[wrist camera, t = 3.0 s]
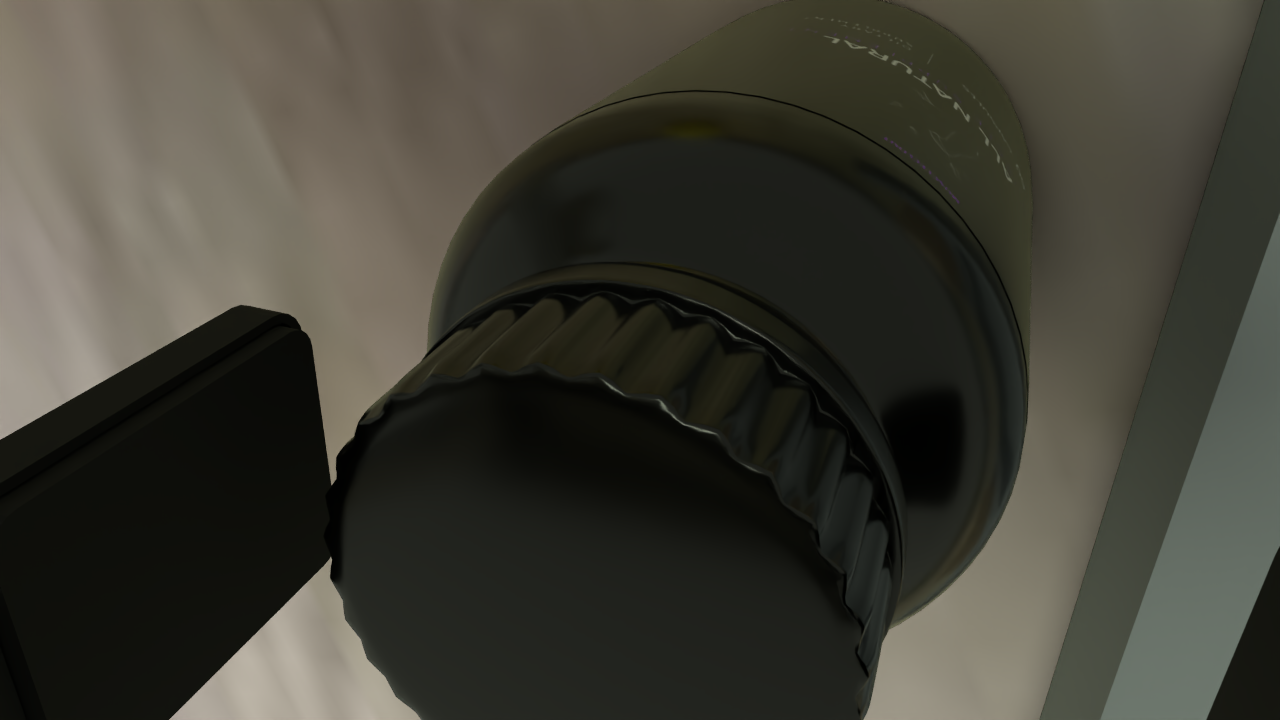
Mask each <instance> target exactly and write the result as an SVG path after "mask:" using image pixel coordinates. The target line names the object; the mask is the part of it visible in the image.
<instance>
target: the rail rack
mask: <svg viewBox="0 0 1280 720" xmlns="http://www.w3.org/2000/svg"><path fill="white" fill-rule="evenodd" d="M1279 547H1280V0H1265V1H1264V4H1263V7H1262V10H1261V13H1260V17H1259V20H1258V23H1257V26H1256V29H1255V33H1254V36H1253V39H1252V42H1251V45H1250V49H1249V52H1248V55H1247V58H1246V61H1245V65H1244V68H1243V71H1242V74H1241V77H1240V81H1239V84H1238V87H1237V90H1236V93H1235V97H1234V100H1233V103H1232V106H1231V109H1230V113H1229V116H1228V119H1227V122H1226V125H1225V129H1224V132H1223V135H1222V138H1221V141H1220V145H1219V148H1218V151H1217V154H1216V157H1215V161H1214V164H1213V167H1212V170H1211V173H1210V177H1209V180H1208V183H1207V186H1206V189H1205V193H1204V196H1203V199H1202V202H1201V205H1200V209H1199V212H1198V215H1197V218H1196V221H1195V225H1194V228H1193V231H1192V234H1191V237H1190V241H1189V244H1188V247H1187V250H1186V253H1185V257H1184V260H1183V263H1182V266H1181V269H1180V273H1179V276H1178V279H1177V282H1176V285H1175V289H1174V292H1173V295H1172V298H1171V301H1170V305H1169V308H1168V311H1167V314H1166V317H1165V321H1164V324H1163V327H1162V330H1161V333H1160V337H1159V340H1158V343H1157V346H1156V349H1155V353H1154V356H1153V359H1152V362H1151V365H1150V369H1149V372H1148V375H1147V378H1146V381H1145V385H1144V388H1143V391H1142V394H1141V398H1140V401H1139V404H1138V407H1137V410H1136V414H1135V417H1134V420H1133V423H1132V426H1131V430H1130V433H1129V436H1128V439H1127V442H1126V446H1125V449H1124V452H1123V455H1122V458H1121V462H1120V465H1119V468H1118V471H1117V474H1116V478H1115V481H1114V484H1113V487H1112V490H1111V494H1110V497H1109V500H1108V503H1107V506H1106V510H1105V513H1104V516H1103V519H1102V522H1101V526H1100V529H1099V532H1098V535H1097V538H1096V542H1095V545H1094V548H1093V551H1092V554H1091V558H1090V561H1089V564H1088V567H1087V570H1086V574H1085V577H1084V580H1083V583H1082V586H1081V590H1080V593H1079V596H1078V599H1077V602H1076V606H1075V609H1074V612H1073V615H1072V618H1071V622H1070V625H1069V628H1068V631H1067V634H1066V638H1065V641H1064V644H1063V647H1062V650H1061V654H1060V657H1059V660H1058V663H1057V666H1056V670H1055V673H1054V676H1053V679H1052V682H1051V686H1050V689H1049V692H1048V695H1047V698H1046V702H1045V705H1044V708H1043V711H1042V714H1041V718H1040V720H1206V719H1207V717H1208V714H1209V712H1210V710H1211V707H1212V705H1213V702H1214V700H1215V698H1216V695H1217V693H1218V690H1219V688H1220V686H1221V683H1222V681H1223V678H1224V676H1225V674H1226V671H1227V669H1228V667H1229V664H1230V662H1231V659H1232V657H1233V655H1234V652H1235V650H1236V647H1237V645H1238V643H1239V640H1240V638H1241V635H1242V633H1243V631H1244V628H1245V626H1246V623H1247V621H1248V619H1249V616H1250V614H1251V611H1252V609H1253V607H1254V604H1255V602H1256V599H1257V597H1258V595H1259V592H1260V590H1261V588H1262V585H1263V583H1264V580H1265V578H1266V576H1267V573H1268V571H1269V568H1270V566H1271V564H1272V561H1273V559H1274V556H1275V554H1276V552H1277V550H1278V549H1279Z"/></svg>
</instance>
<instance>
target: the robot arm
mask: <svg viewBox="0 0 1280 720" xmlns="http://www.w3.org/2000/svg"><path fill="white" fill-rule="evenodd" d="M330 487H331V480H330V473H329V465H328V458H327V451H326V444H325V436H324V429H323V422H322V415H321V407H320V400H319V393H318V386H317V378H316V371H315V364H314V357H313V349H312V344H311V341H310V338H309V337H308V335H307V334H306V333H305V332H303V331H302V330H301V326H300V325H299V323H298V322H297V320H296V319H295V318H294V317H292V316H291V315H289V314H285V313H280V312H275V311H271V310H266V309H261V308H256V307H251V306H244V305H239V306H236V307H234V308H231V309H229V310H228V311H226V312H224V313H222V314H221V315H219V316H217V317H215V318H214V319H212V320H210V321H208V322H207V323H205V324H203V325H201V326H200V327H198V328H196V329H194V330H193V331H191V332H189V333H187V334H186V335H184V336H182V337H180V338H179V339H177V340H175V341H173V342H171V343H170V344H168V345H166V346H164V347H163V348H161V349H159V350H157V351H156V352H154V353H152V354H150V355H149V356H147V357H145V358H143V359H142V360H140V361H138V362H136V363H135V364H133V365H131V366H129V367H128V368H126V369H124V370H122V371H121V372H119V373H117V374H115V375H114V376H112V377H110V378H108V379H107V380H105V381H103V382H101V383H99V384H98V385H96V386H94V387H92V388H91V389H89V390H87V391H85V392H84V393H82V394H80V395H78V396H77V397H75V398H73V399H71V400H70V401H68V402H66V403H64V404H63V405H61V406H59V407H57V408H56V409H54V410H52V411H50V412H49V413H47V414H45V415H43V416H42V417H40V418H38V419H36V420H35V421H33V422H31V423H29V424H27V425H26V426H24V427H22V428H20V429H19V430H17V431H15V432H13V433H12V434H10V435H8V436H6V437H5V438H3V439H1V440H0V720H169V719H170V718H171V717H172V716H173V715H174V714H175V713H176V712H177V711H178V710H179V709H180V708H181V707H182V706H183V705H184V704H185V703H186V702H187V701H188V700H189V699H190V698H191V697H192V696H193V695H194V694H195V693H196V692H197V691H198V690H199V689H200V688H201V687H202V686H203V685H204V684H205V683H206V682H207V681H208V680H209V679H210V678H211V677H212V676H213V675H214V674H215V673H216V672H217V671H218V670H219V669H220V668H221V667H222V666H223V665H224V664H225V663H226V662H227V661H228V660H229V659H230V658H231V657H232V656H233V655H234V654H235V653H236V652H237V651H238V650H239V649H240V648H241V647H242V646H243V645H244V644H245V643H246V642H247V641H249V640H250V639H251V638H252V637H253V636H254V635H255V634H256V633H257V632H258V631H259V630H260V629H261V628H262V627H263V626H264V625H265V624H266V623H267V622H268V621H269V620H270V619H271V618H272V617H273V616H274V615H275V614H276V613H277V612H278V611H279V610H280V609H281V608H282V607H283V606H284V605H285V604H286V603H287V602H288V601H289V600H290V599H291V598H292V597H293V596H294V595H295V594H296V593H297V592H298V591H299V590H300V589H301V588H302V587H303V586H304V585H305V584H306V583H307V582H308V581H309V580H310V579H311V578H312V577H313V576H314V575H315V574H316V573H317V572H318V571H319V570H320V569H321V568H322V567H323V566H324V565H325V564H326V562H327V561H328V560H329V558H330V557H331V555H330V552H329V550H328V548H327V545H326V543H325V540H324V537H323V536H324V532H325V529H326V527H327V525H328V523H329V521H330V517H329V512H328V508H327V504H326V498H325V495H326V493H327V492H328V490H329V489H330ZM1206 720H1280V547H1279V549H1278V550H1277V552H1276V554H1275V556H1274V559H1273V561H1272V564H1271V566H1270V568H1269V571H1268V573H1267V576H1266V578H1265V580H1264V583H1263V585H1262V588H1261V590H1260V592H1259V595H1258V597H1257V599H1256V602H1255V604H1254V607H1253V609H1252V611H1251V614H1250V616H1249V619H1248V621H1247V623H1246V626H1245V628H1244V631H1243V633H1242V635H1241V638H1240V640H1239V643H1238V645H1237V647H1236V650H1235V652H1234V655H1233V657H1232V659H1231V662H1230V664H1229V667H1228V669H1227V671H1226V674H1225V676H1224V678H1223V681H1222V683H1221V686H1220V688H1219V690H1218V693H1217V695H1216V698H1215V700H1214V702H1213V705H1212V707H1211V710H1210V712H1209V714H1208V717H1207V719H1206Z"/></svg>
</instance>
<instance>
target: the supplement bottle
mask: <svg viewBox="0 0 1280 720" xmlns="http://www.w3.org/2000/svg"><path fill="white" fill-rule="evenodd" d="M1032 214H1033V200H1032V182H1031V167H1030V161H1029V156H1028V150H1027V145H1026V142H1025V139H1024V135H1023V132H1022V128H1021V125H1020V123H1019V120H1018V118H1017V115H1016V113H1015V111H1014V108H1013V106H1012V104H1011V102H1010V100H1009V99H1008V97H1007V95H1006V93H1005V91H1004V89H1003V88H1002V86H1001V85H1000V83H999V82H998V80H997V79H996V78H995V76H994V75H993V73H992V72H991V71H990V69H989V68H988V67H987V66H986V65H985V64H984V63H983V61H982V60H981V59H980V58H979V57H978V56H977V55H976V54H975V53H974V52H973V51H972V50H971V49H970V48H969V47H968V46H967V45H966V44H964V43H963V42H962V41H961V40H960V39H958V38H957V37H956V36H954V35H953V34H952V33H950V32H949V31H948V30H946V29H945V28H943V27H942V26H940V25H938V24H936V23H935V22H933V21H931V20H930V19H928V18H926V17H924V16H922V15H920V14H917V13H915V12H913V11H911V10H909V9H906V8H903V7H900V6H897V5H894V4H891V3H888V2H883V1H879V0H789V1H785V2H781V3H778V4H774V5H771V6H768V7H765V8H762V9H760V10H757V11H755V12H752V13H750V14H748V15H745V16H743V17H742V18H740V19H738V20H736V21H734V22H732V23H730V24H728V25H726V26H724V27H723V28H721V29H719V30H717V31H715V32H714V33H712V34H710V35H709V36H707V37H705V38H704V39H702V40H700V41H699V42H697V43H695V44H694V45H692V46H690V47H689V48H687V49H685V50H684V51H682V52H681V53H679V54H677V55H676V56H674V57H672V58H671V59H669V60H667V61H666V62H664V63H662V64H661V65H659V66H657V67H656V68H654V69H652V70H651V71H649V72H648V73H646V74H644V75H643V76H641V77H639V78H638V79H636V80H634V81H633V82H631V83H629V84H628V85H626V86H624V87H623V88H621V89H619V90H618V91H616V92H615V93H613V94H611V95H610V96H608V97H606V98H605V99H603V100H601V101H600V102H598V103H596V104H595V105H593V106H591V107H590V108H588V109H586V110H585V111H583V112H582V113H580V114H578V115H577V116H575V117H573V118H572V119H570V120H568V121H567V122H565V123H564V124H562V125H560V126H559V127H557V128H556V129H554V130H553V131H551V132H550V133H549V134H547V135H546V136H544V137H543V138H541V139H540V140H539V141H537V142H536V143H534V144H533V145H532V146H531V147H529V148H528V149H527V150H525V151H524V152H523V153H521V154H520V155H519V156H518V157H517V158H516V159H514V160H513V161H512V162H511V163H510V164H509V165H508V166H507V167H505V168H504V169H503V170H502V171H501V172H500V173H499V174H498V175H497V176H496V177H495V178H494V179H493V180H492V181H491V182H490V184H489V185H488V186H487V187H486V188H485V189H484V190H483V191H482V193H481V194H480V195H479V196H478V198H477V199H476V201H475V202H474V204H473V205H472V206H471V208H470V209H469V211H468V212H467V214H466V215H465V217H464V218H463V220H462V222H461V224H460V225H459V227H458V229H457V231H456V233H455V235H454V237H453V239H452V240H451V242H450V245H449V247H448V250H447V252H446V255H445V257H444V260H443V262H442V265H441V268H440V271H439V275H438V279H437V282H436V286H435V290H434V293H433V299H432V305H431V312H430V318H429V324H428V343H427V354H426V355H425V357H424V358H423V359H422V361H421V362H420V363H419V364H418V365H417V366H416V367H414V368H413V369H412V370H411V371H410V372H409V373H407V374H406V375H405V376H404V377H403V378H402V379H401V380H400V381H399V382H398V383H397V384H396V385H395V386H394V387H393V388H391V389H390V390H389V391H388V392H387V393H386V394H384V395H383V396H382V397H381V398H380V399H379V400H378V401H376V402H375V403H374V404H373V405H372V406H371V407H370V408H369V409H368V410H367V411H366V412H365V413H364V415H363V416H362V418H361V419H360V420H359V422H358V425H357V428H356V432H355V436H354V437H353V438H352V439H351V440H350V441H349V442H348V443H347V444H346V445H345V446H344V447H343V448H342V450H341V451H340V452H339V454H338V455H337V457H336V471H337V479H336V481H335V482H334V483H333V485H332V486H331V487H330V489H329V490H328V492H327V493H326V495H325V498H326V504H327V508H328V512H329V517H330V521H329V523H328V525H327V527H326V529H325V532H324V536H323V537H324V540H325V543H326V545H327V548H328V550H329V552H330V555H331V558H332V564H331V572H330V579H331V581H332V582H333V584H334V586H335V588H336V589H337V591H338V593H339V594H340V596H341V598H342V599H343V608H344V615H345V620H346V621H347V622H348V624H349V625H350V626H351V628H352V629H353V630H354V631H355V632H356V634H357V635H358V636H359V638H360V639H361V641H362V645H363V648H364V651H365V654H366V656H367V659H368V660H369V661H370V662H371V663H372V664H373V665H374V666H375V667H376V668H377V669H378V670H379V671H380V672H381V673H382V674H383V675H384V676H385V677H386V679H387V681H388V683H389V685H390V687H391V689H392V690H393V692H394V694H395V696H396V697H397V698H398V699H400V700H401V701H402V702H403V703H405V704H406V705H407V706H409V707H410V708H411V709H413V710H414V711H415V712H416V713H417V714H418V716H419V717H420V719H421V720H863V719H864V717H865V715H866V713H867V711H868V708H869V705H870V701H871V697H872V692H873V687H874V682H875V677H876V672H877V667H878V662H879V657H880V652H881V646H882V642H883V640H884V638H885V636H886V635H887V632H888V630H889V629H891V628H893V627H895V626H897V625H899V624H901V623H902V622H904V621H905V620H907V619H908V618H910V617H911V616H913V615H915V614H916V613H918V612H919V611H921V610H922V609H924V608H925V607H926V606H927V605H929V604H930V603H931V602H932V601H934V600H935V599H936V598H937V597H938V596H940V595H941V594H942V593H943V592H945V591H946V590H947V589H948V588H949V587H950V586H951V585H952V584H953V583H954V582H955V581H956V580H957V579H958V578H959V577H960V576H961V575H962V574H963V573H964V571H965V570H966V569H967V568H968V567H969V566H970V565H971V563H972V562H973V561H974V560H975V558H976V557H977V556H978V554H979V553H980V552H981V550H982V549H983V548H984V546H985V545H986V543H987V541H988V540H989V538H990V536H991V535H992V533H993V531H994V530H995V528H996V526H997V525H998V523H999V521H1000V519H1001V517H1002V515H1003V512H1004V510H1005V508H1006V506H1007V503H1008V501H1009V499H1010V496H1011V494H1012V491H1013V487H1014V484H1015V481H1016V477H1017V474H1018V471H1019V467H1020V461H1021V455H1022V449H1023V443H1024V437H1025V431H1026V424H1027V414H1028V393H1029V360H1030V312H1031V263H1032Z"/></svg>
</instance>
